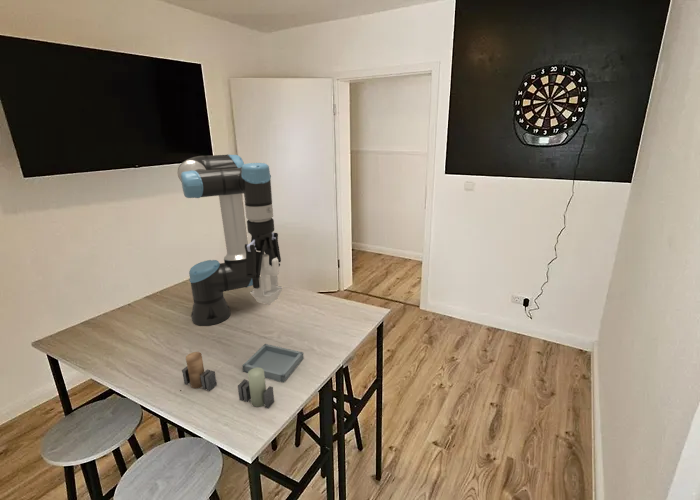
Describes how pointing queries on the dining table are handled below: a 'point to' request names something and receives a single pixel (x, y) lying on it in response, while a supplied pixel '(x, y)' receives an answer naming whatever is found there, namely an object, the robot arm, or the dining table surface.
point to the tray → (274, 362)
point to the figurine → (268, 281)
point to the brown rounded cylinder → (195, 369)
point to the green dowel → (257, 386)
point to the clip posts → (243, 388)
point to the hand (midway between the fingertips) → (266, 291)
